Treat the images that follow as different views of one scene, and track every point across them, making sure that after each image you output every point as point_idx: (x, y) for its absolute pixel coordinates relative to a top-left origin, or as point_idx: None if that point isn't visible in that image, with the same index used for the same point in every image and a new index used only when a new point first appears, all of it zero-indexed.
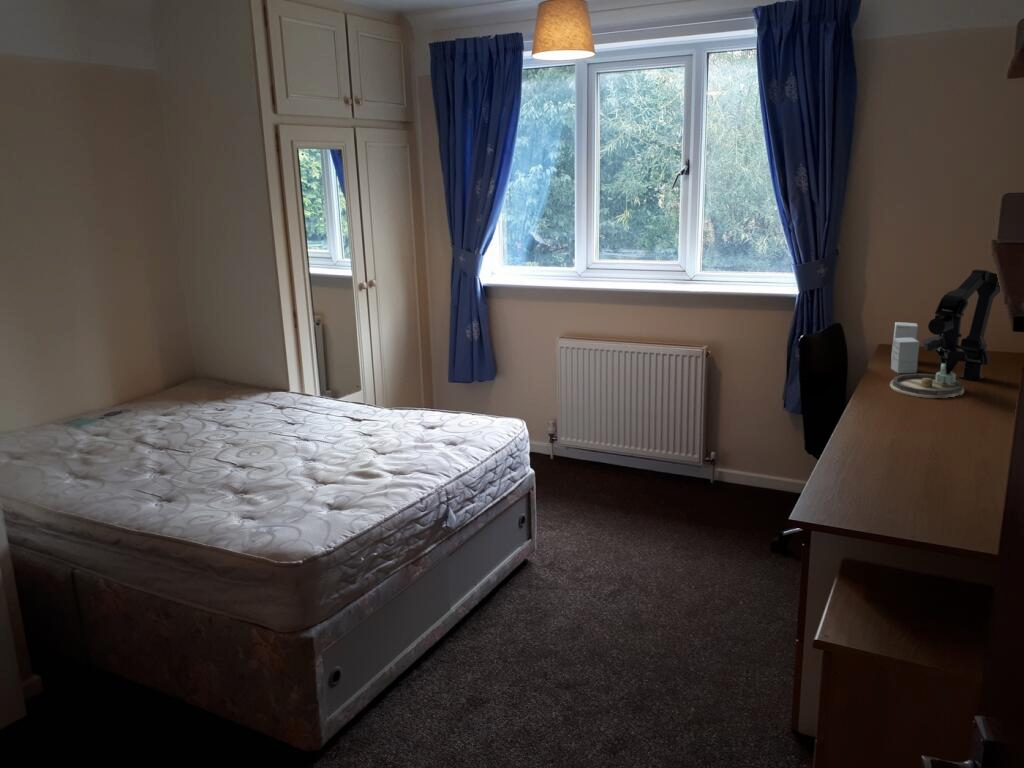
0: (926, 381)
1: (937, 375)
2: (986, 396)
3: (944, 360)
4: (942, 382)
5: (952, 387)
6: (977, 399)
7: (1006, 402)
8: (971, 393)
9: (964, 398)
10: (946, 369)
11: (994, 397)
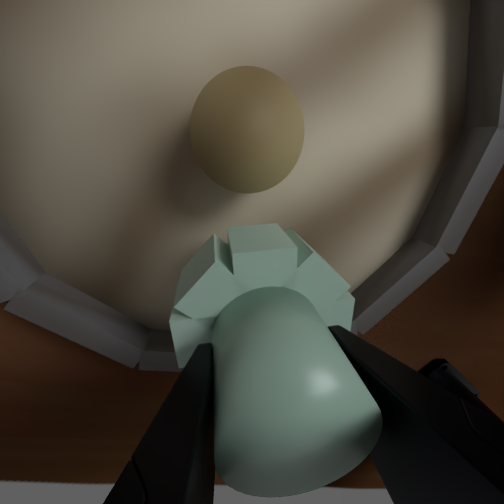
0: (191, 113)
1: (235, 248)
2: (118, 425)
3: (430, 469)
4: (187, 264)
5: None
6: (35, 390)
7: (29, 479)
8: (162, 376)
9: (29, 335)
10: (172, 391)
11: (109, 448)
